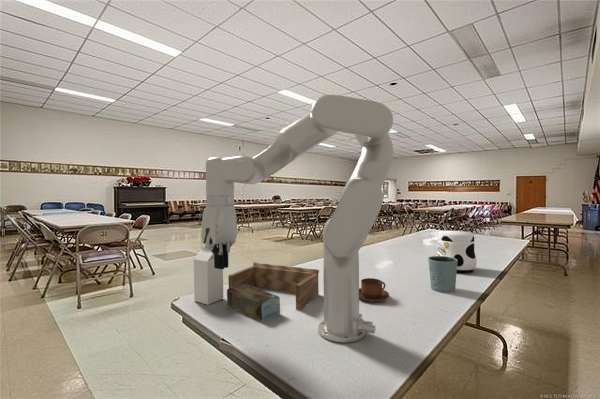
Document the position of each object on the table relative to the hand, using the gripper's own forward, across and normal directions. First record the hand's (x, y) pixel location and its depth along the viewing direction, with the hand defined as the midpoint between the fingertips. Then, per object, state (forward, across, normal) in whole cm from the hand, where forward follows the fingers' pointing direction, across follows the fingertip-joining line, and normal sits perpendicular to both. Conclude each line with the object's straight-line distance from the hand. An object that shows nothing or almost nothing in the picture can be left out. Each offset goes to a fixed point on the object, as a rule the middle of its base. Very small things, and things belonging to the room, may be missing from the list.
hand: (221, 267), depth 81 cm
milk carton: (+17, -15, -19) cm, 30 cm away
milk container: (+17, -96, +62) cm, 116 cm away
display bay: (+17, -28, 0) cm, 33 cm away
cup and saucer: (+18, -41, +33) cm, 55 cm away
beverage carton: (+18, -14, 0) cm, 23 cm away
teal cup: (+17, -61, +56) cm, 85 cm away
